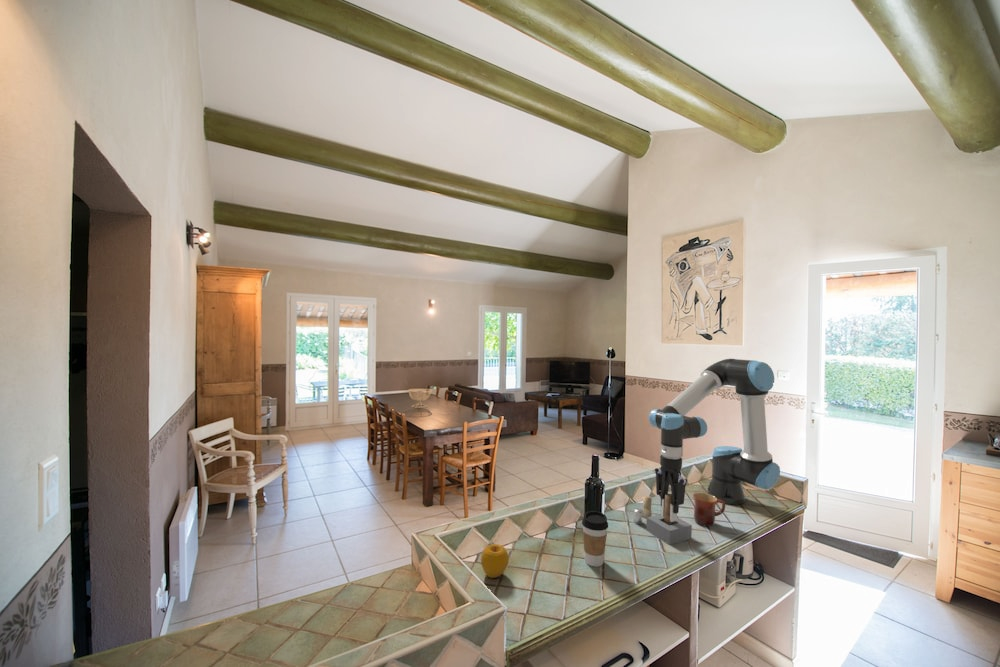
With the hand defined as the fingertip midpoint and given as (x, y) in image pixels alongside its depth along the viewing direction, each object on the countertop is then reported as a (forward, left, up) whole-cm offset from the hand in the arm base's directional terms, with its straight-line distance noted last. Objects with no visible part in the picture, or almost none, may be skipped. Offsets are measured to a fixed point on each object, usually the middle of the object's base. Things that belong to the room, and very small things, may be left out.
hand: (669, 518), depth 155 cm
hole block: (0, 0, -6) cm, 6 cm away
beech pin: (-3, -14, -6) cm, 16 cm away
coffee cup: (+37, +4, -6) cm, 38 cm away
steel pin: (+4, -11, -6) cm, 14 cm away
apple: (+70, -2, -6) cm, 71 cm away
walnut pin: (0, 0, -5) cm, 5 cm away
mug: (-22, 0, -6) cm, 23 cm away
